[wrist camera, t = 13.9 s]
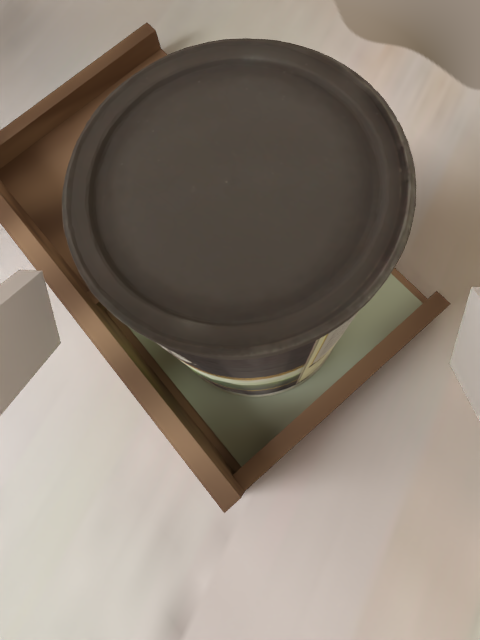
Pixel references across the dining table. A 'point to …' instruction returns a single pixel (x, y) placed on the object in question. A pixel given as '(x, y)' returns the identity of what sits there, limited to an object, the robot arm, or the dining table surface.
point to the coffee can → (240, 207)
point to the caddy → (146, 355)
